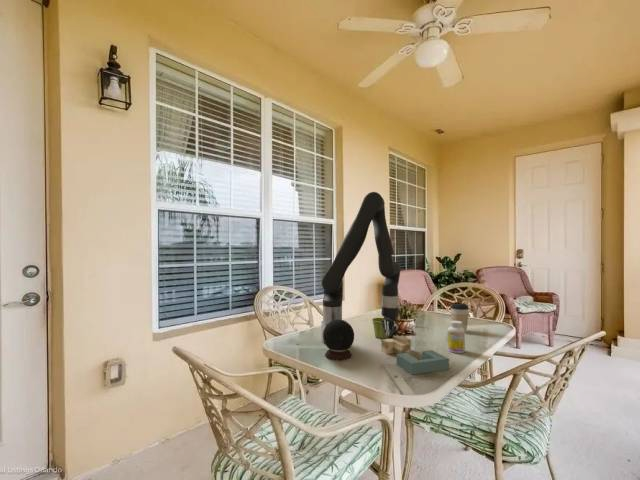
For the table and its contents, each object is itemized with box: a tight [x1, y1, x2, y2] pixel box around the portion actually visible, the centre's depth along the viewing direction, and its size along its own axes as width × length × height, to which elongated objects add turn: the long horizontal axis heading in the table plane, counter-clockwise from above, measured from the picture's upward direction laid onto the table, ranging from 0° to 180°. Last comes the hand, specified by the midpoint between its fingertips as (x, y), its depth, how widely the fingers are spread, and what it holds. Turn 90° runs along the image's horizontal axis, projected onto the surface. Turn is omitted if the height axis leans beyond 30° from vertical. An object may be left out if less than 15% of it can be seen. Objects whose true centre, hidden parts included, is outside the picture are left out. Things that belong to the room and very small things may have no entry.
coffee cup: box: [450, 301, 469, 333], centre depth 171 cm, size 9×9×15 cm
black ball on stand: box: [323, 319, 355, 362], centre depth 134 cm, size 13×13×15 cm
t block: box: [380, 336, 412, 355], centre depth 137 cm, size 12×10×5 cm
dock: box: [396, 349, 450, 376], centre depth 121 cm, size 16×10×4 cm, turn 107°
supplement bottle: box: [447, 320, 466, 354], centre depth 139 cm, size 7×7×13 cm
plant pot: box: [371, 317, 387, 340], centre depth 161 cm, size 9×9×9 cm
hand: (390, 343), depth 145 cm, fingers closed
